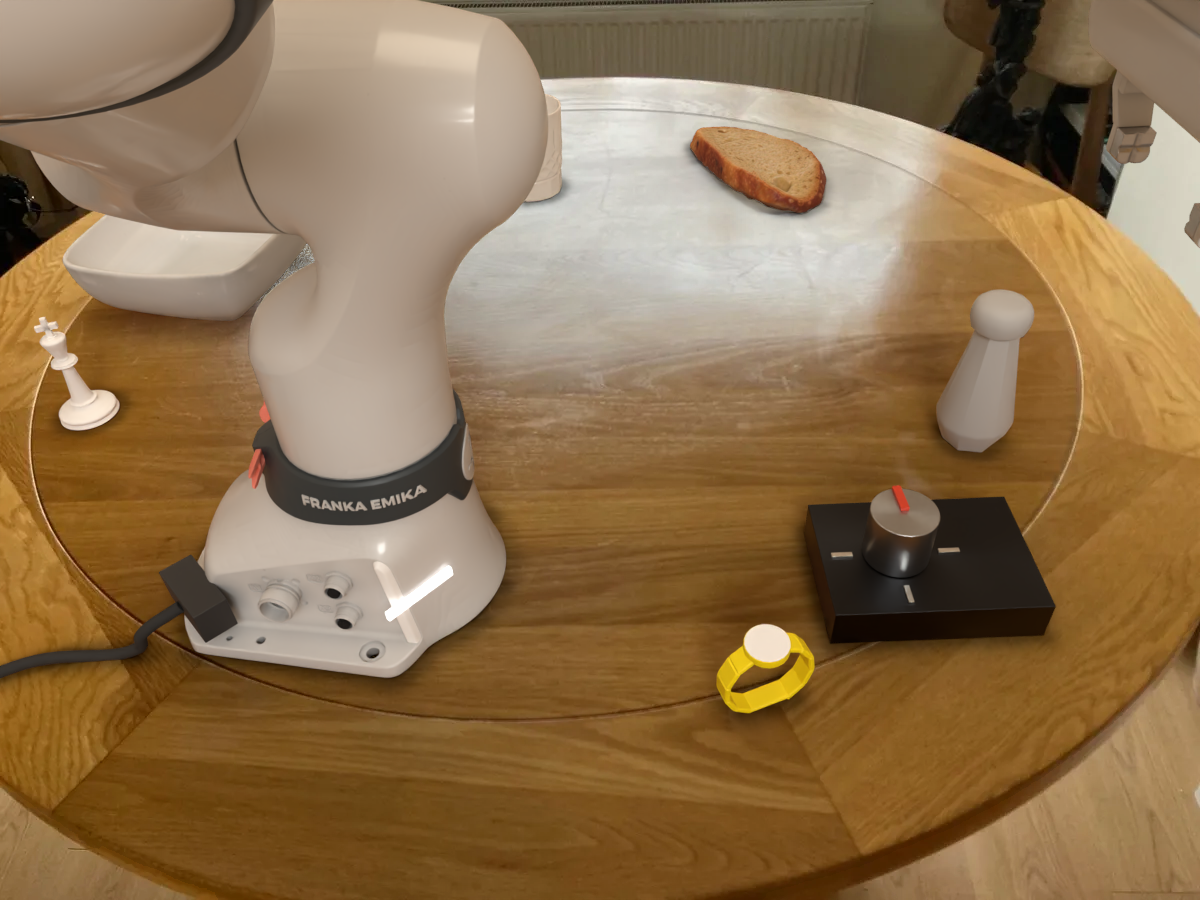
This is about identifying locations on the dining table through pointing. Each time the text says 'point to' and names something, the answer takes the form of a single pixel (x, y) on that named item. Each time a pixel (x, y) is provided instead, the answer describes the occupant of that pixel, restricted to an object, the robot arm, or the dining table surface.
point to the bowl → (178, 268)
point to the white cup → (550, 156)
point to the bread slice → (762, 167)
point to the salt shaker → (986, 373)
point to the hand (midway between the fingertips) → (1162, 197)
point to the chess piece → (76, 385)
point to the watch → (765, 651)
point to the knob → (900, 532)
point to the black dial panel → (929, 577)
